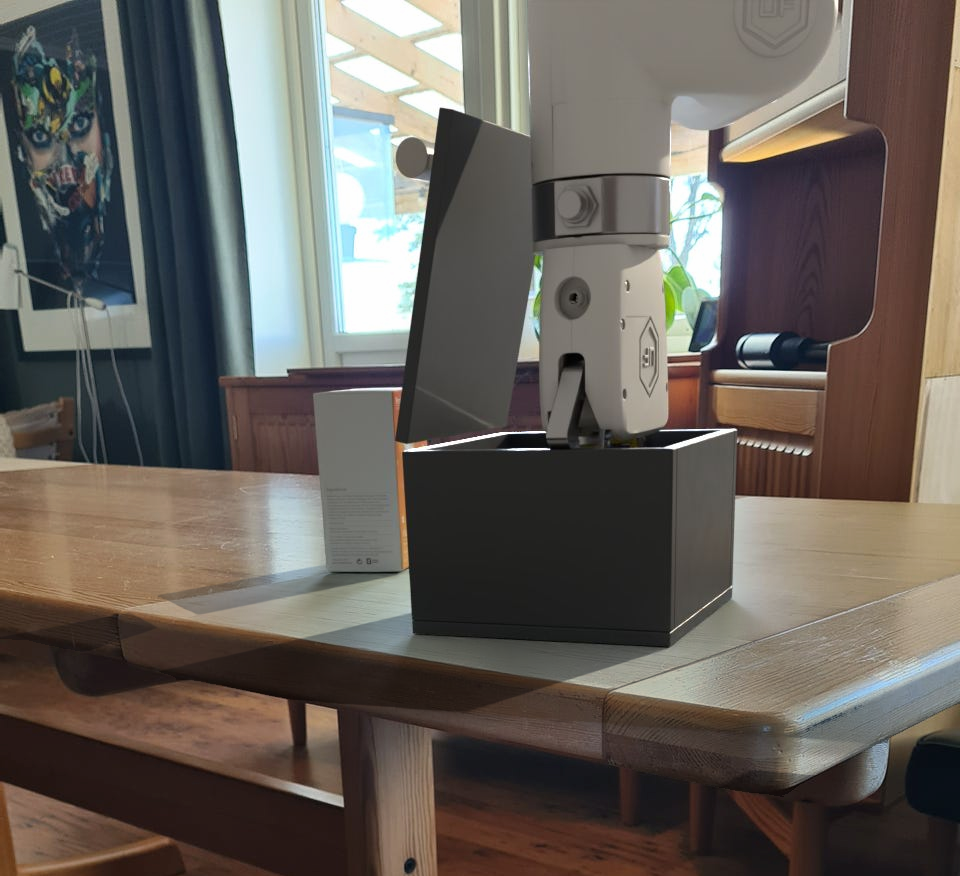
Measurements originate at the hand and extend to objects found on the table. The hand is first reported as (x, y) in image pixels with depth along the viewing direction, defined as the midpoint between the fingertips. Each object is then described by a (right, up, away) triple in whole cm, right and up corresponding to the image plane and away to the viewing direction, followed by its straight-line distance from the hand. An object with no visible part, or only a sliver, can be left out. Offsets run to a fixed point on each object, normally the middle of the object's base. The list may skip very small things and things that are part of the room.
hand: (602, 554), depth 77 cm
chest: (-1, -3, +2) cm, 4 cm away
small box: (-15, +5, +24) cm, 29 cm away
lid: (-7, +15, -3) cm, 17 cm away
